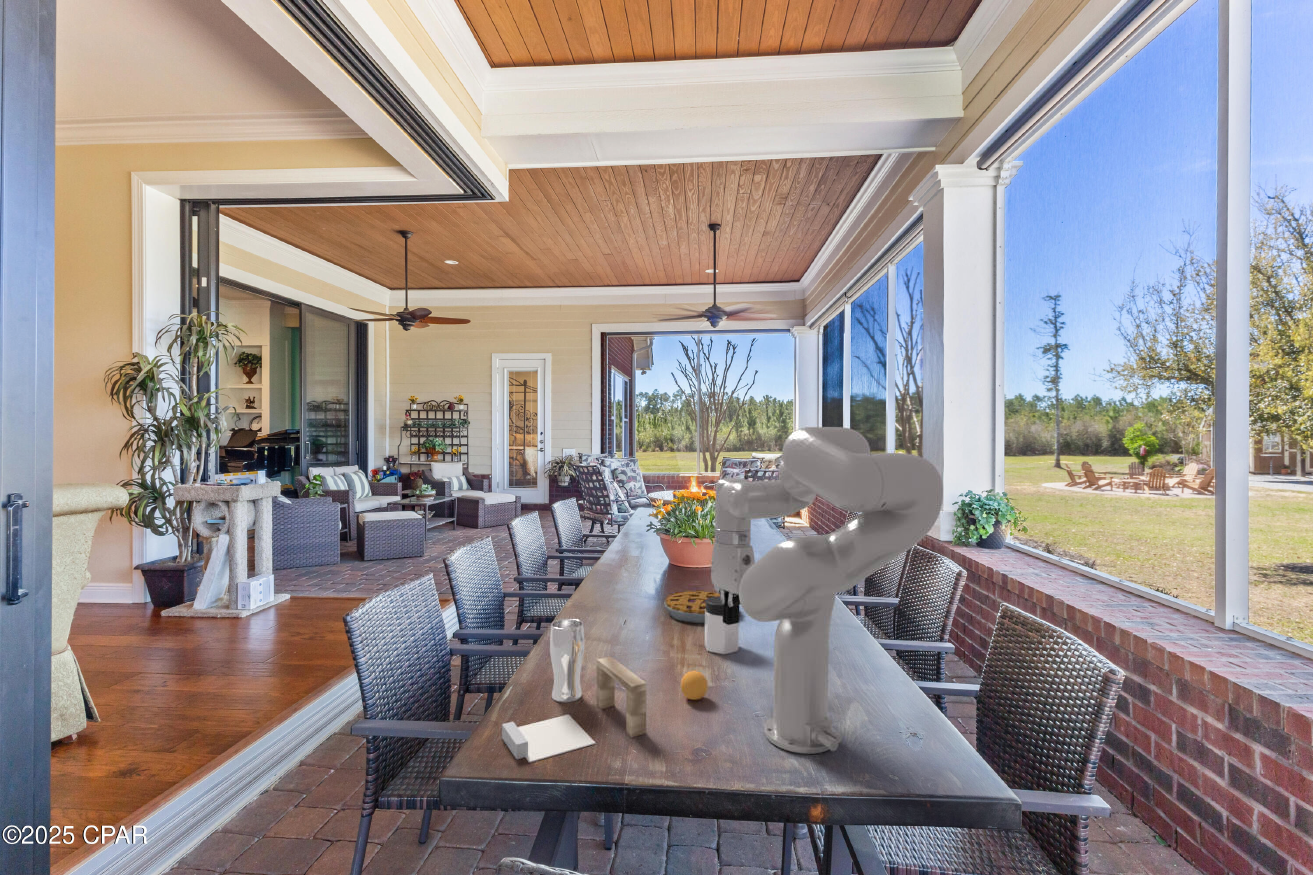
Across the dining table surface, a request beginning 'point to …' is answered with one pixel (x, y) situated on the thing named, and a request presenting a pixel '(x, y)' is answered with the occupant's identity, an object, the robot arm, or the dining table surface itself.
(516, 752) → the stopper wall
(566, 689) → the beer glass
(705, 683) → the ball
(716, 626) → the jar
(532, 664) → the dining table surface
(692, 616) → the pie
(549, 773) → the dining table surface
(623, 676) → the bridge
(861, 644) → the dining table surface
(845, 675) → the dining table surface
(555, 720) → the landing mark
